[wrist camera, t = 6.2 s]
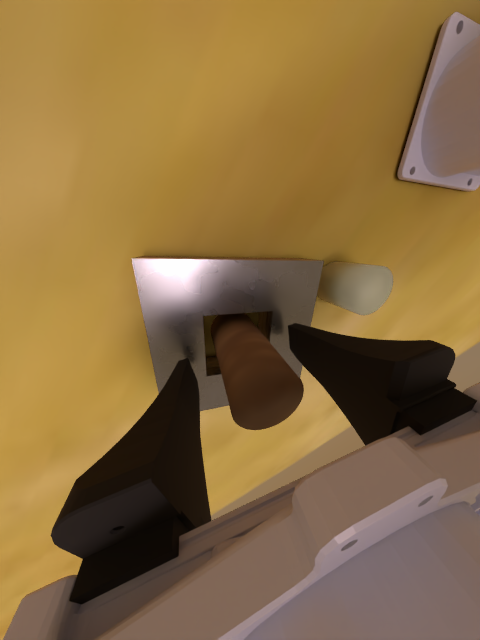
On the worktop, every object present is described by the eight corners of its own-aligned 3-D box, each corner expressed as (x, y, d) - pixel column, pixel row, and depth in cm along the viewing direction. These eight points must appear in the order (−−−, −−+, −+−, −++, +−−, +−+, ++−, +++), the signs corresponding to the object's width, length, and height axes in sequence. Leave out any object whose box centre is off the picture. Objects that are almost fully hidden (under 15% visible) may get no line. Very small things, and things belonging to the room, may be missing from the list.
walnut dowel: (248, 304, 15) (303, 360, 8) (253, 340, 16) (303, 413, 9) (206, 315, 14) (223, 386, 7) (215, 351, 16) (238, 439, 8)
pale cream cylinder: (352, 261, 16) (400, 265, 12) (342, 299, 17) (382, 313, 14) (319, 261, 15) (360, 266, 11) (311, 301, 16) (345, 316, 13)
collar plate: (302, 258, 14) (323, 260, 12) (284, 374, 19) (297, 391, 17) (142, 256, 11) (131, 258, 9) (167, 394, 16) (164, 418, 14)
